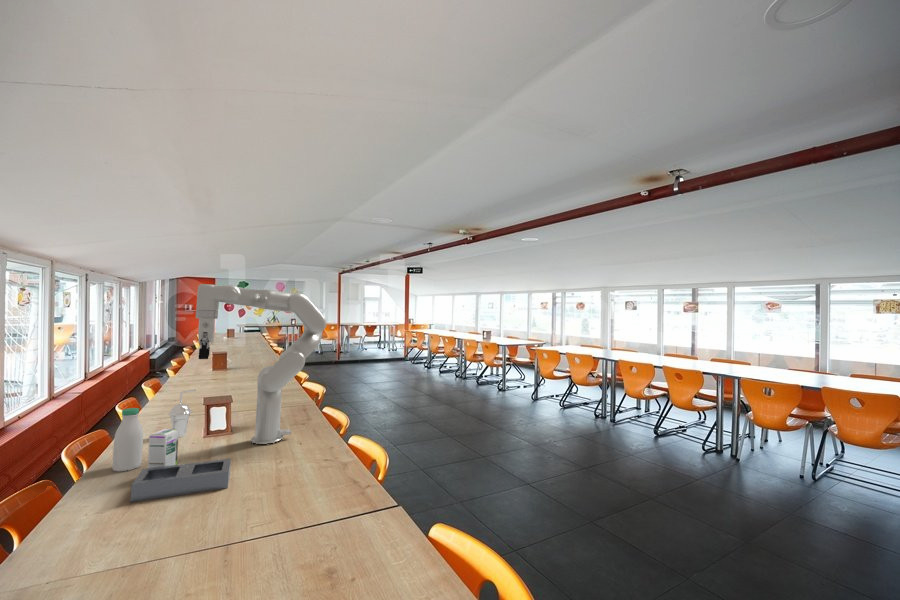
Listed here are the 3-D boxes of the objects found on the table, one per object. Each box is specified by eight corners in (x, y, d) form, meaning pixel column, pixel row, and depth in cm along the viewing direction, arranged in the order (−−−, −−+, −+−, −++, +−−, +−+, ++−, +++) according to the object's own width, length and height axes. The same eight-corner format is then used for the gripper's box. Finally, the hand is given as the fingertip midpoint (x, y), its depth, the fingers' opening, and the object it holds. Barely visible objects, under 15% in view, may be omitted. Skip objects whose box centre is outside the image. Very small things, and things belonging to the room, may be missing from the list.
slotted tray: (230, 473, 130) (231, 458, 130) (227, 488, 119) (228, 471, 120) (141, 485, 119) (142, 468, 120) (130, 502, 109) (131, 484, 109)
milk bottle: (143, 467, 132) (147, 409, 133) (113, 474, 126) (117, 413, 127) (139, 461, 137) (142, 405, 138) (110, 467, 132) (114, 408, 132)
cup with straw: (178, 432, 171) (181, 387, 171) (196, 433, 169) (199, 388, 170) (161, 438, 162) (164, 390, 163) (180, 439, 161) (183, 392, 162)
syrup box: (164, 479, 124) (166, 434, 124) (146, 479, 124) (149, 433, 124) (177, 472, 129) (179, 429, 130) (159, 471, 129) (162, 428, 130)
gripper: (217, 315, 148) (214, 360, 148) (218, 315, 163) (215, 355, 162) (194, 314, 145) (191, 360, 144) (197, 314, 159) (194, 355, 159)
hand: (203, 357), depth 153 cm, fingers open, 9 cm apart
